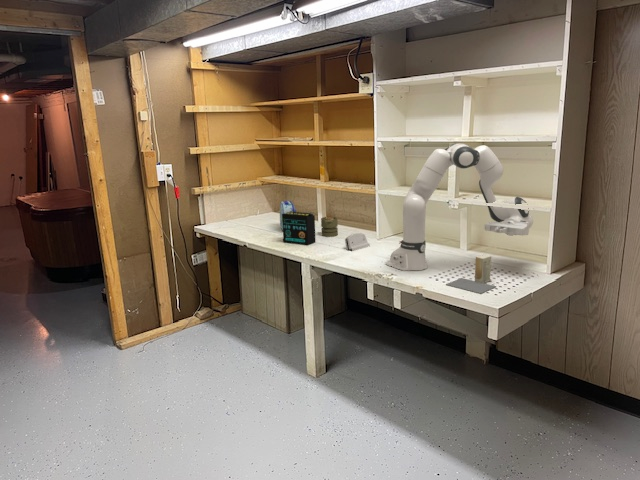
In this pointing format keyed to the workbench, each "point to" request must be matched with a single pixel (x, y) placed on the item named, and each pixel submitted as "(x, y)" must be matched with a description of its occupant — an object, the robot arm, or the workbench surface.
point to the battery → (298, 228)
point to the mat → (471, 285)
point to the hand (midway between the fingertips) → (497, 231)
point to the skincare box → (482, 268)
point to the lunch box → (285, 209)
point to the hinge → (356, 242)
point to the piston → (329, 227)
